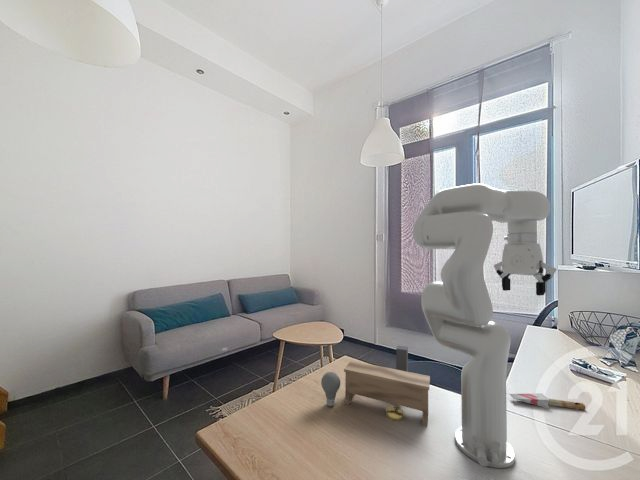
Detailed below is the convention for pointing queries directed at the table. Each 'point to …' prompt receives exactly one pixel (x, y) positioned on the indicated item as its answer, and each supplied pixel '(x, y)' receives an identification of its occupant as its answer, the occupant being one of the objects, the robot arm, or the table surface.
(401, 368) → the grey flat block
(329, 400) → the light bulb
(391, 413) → the token
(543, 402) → the paintbrush
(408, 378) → the wooden bench
